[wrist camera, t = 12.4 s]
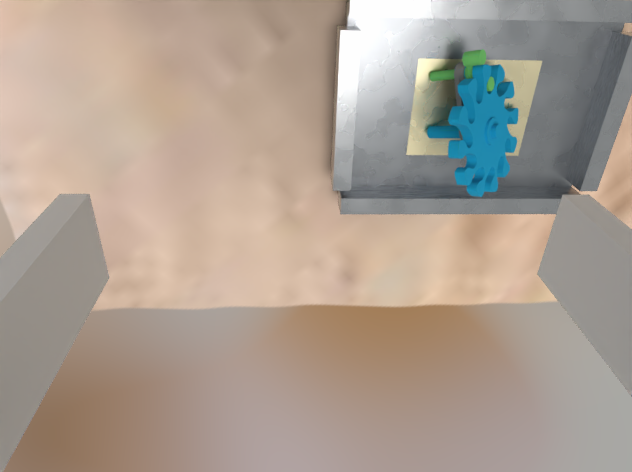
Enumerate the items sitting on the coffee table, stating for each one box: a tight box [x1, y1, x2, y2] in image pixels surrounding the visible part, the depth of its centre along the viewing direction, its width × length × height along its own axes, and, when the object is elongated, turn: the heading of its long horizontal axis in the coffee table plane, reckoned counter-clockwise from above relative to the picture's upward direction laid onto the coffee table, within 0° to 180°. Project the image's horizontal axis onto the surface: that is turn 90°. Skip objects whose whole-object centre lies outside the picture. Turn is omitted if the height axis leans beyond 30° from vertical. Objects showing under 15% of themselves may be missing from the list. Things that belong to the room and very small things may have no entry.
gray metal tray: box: [331, 0, 632, 214], centre depth 39 cm, size 17×23×4 cm
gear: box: [427, 49, 519, 197], centre depth 38 cm, size 11×6×10 cm
